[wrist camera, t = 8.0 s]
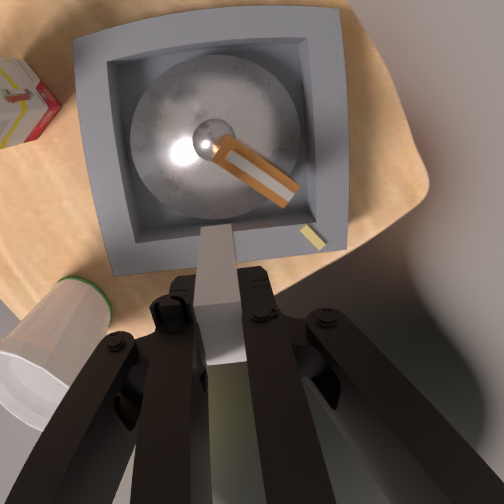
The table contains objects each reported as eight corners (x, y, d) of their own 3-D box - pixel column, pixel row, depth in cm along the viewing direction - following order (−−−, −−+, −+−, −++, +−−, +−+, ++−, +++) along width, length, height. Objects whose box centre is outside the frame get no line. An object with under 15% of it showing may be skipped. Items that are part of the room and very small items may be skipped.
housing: (91, 47, 22) (71, 39, 18) (322, 20, 23) (340, 7, 19) (125, 255, 32) (113, 278, 27) (331, 231, 33) (347, 250, 28)
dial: (109, 162, 26) (76, 180, 19) (195, 30, 21) (187, 5, 15) (235, 238, 30) (240, 277, 24) (325, 119, 26) (358, 124, 19)
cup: (44, 330, 35) (-1, 414, 21) (35, 250, 30) (-37, 331, 16) (125, 353, 38) (101, 451, 24) (130, 274, 33) (88, 378, 19)
